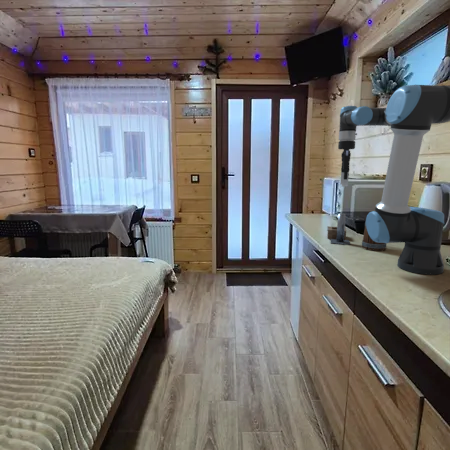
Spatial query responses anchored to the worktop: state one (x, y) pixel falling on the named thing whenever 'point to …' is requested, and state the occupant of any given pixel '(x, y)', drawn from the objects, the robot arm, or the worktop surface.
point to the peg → (341, 227)
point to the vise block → (333, 233)
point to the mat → (346, 242)
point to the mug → (371, 242)
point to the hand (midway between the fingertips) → (343, 185)
